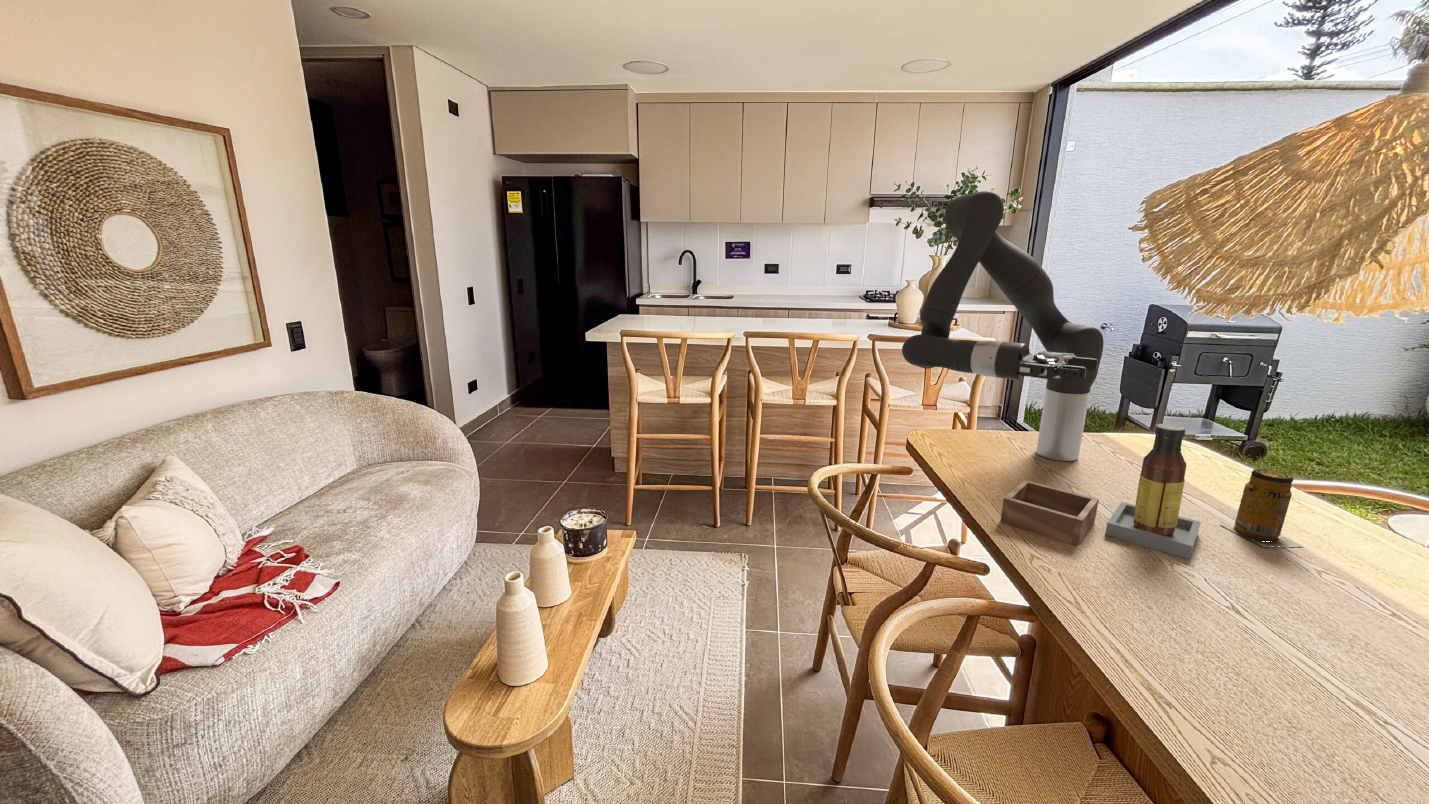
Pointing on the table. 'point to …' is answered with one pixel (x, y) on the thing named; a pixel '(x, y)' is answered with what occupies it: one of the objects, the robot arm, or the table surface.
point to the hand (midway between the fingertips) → (1091, 369)
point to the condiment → (1264, 508)
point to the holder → (1050, 511)
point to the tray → (1172, 544)
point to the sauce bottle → (1161, 482)
